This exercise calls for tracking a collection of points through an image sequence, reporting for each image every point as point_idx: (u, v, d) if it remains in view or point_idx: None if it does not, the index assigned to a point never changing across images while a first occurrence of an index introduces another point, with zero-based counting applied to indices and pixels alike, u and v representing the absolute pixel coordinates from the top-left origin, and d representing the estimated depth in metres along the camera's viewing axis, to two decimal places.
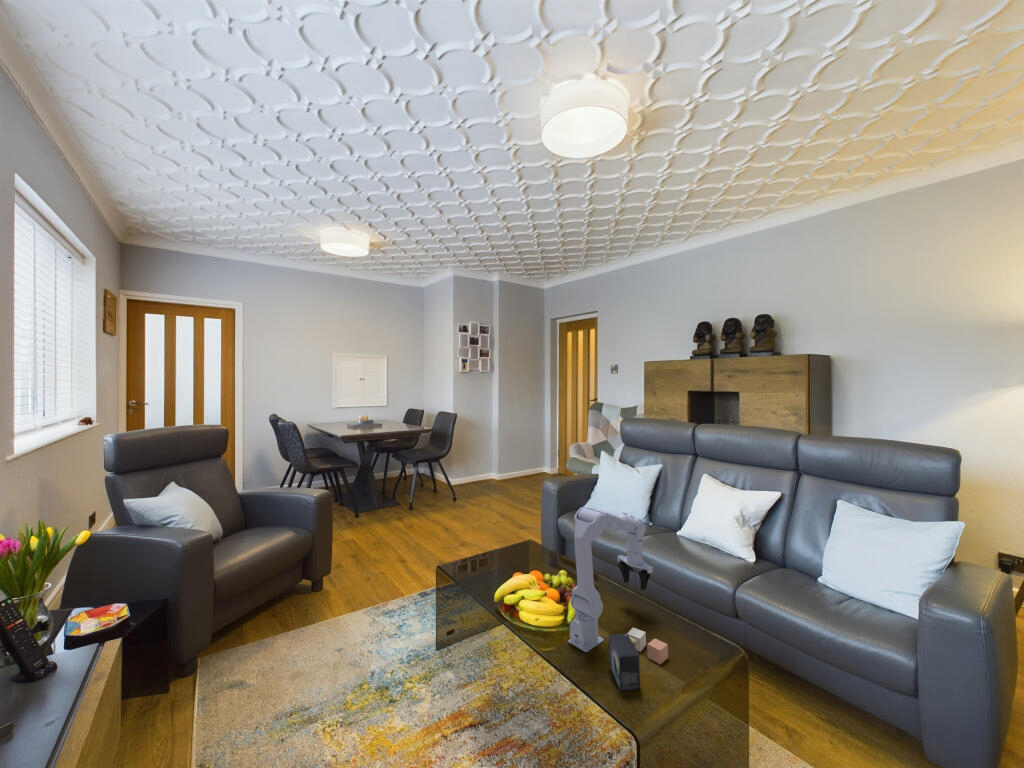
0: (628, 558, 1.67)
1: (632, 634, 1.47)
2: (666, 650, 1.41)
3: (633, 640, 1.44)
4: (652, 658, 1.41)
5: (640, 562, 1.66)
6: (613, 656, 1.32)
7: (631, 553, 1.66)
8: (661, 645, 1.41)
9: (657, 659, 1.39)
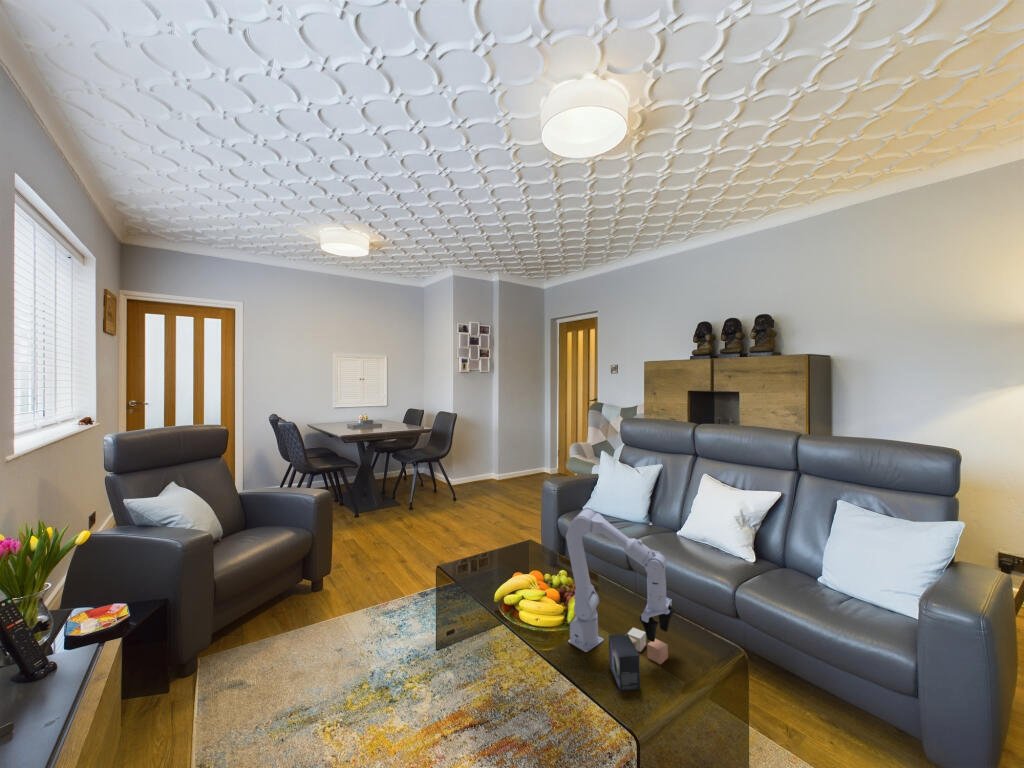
0: None
1: (632, 634, 1.47)
2: (666, 650, 1.41)
3: (633, 640, 1.44)
4: (652, 658, 1.41)
5: (651, 607, 1.40)
6: (613, 656, 1.32)
7: None
8: (661, 645, 1.41)
9: (657, 659, 1.39)
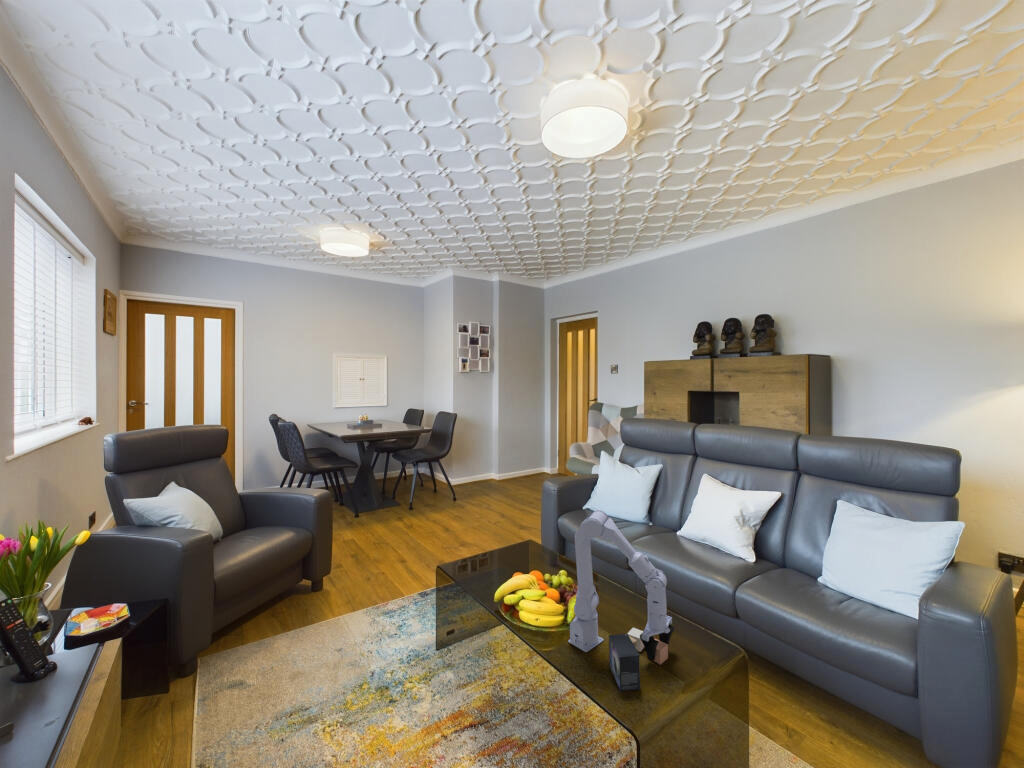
0: None
1: (632, 634, 1.47)
2: (666, 650, 1.41)
3: (633, 640, 1.44)
4: None
5: (651, 626, 1.40)
6: (613, 656, 1.32)
7: None
8: (661, 645, 1.41)
9: (657, 659, 1.39)
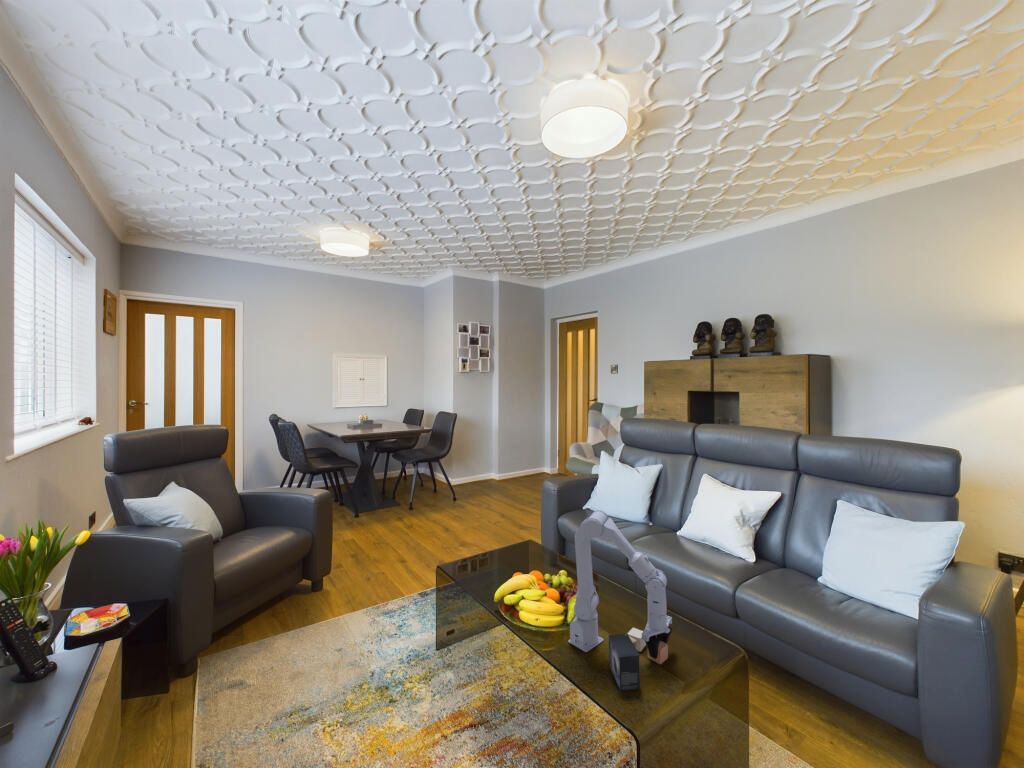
0: None
1: (632, 634, 1.47)
2: (666, 650, 1.41)
3: (633, 640, 1.44)
4: (652, 658, 1.41)
5: (651, 626, 1.40)
6: (613, 656, 1.32)
7: None
8: (661, 645, 1.41)
9: (657, 659, 1.39)
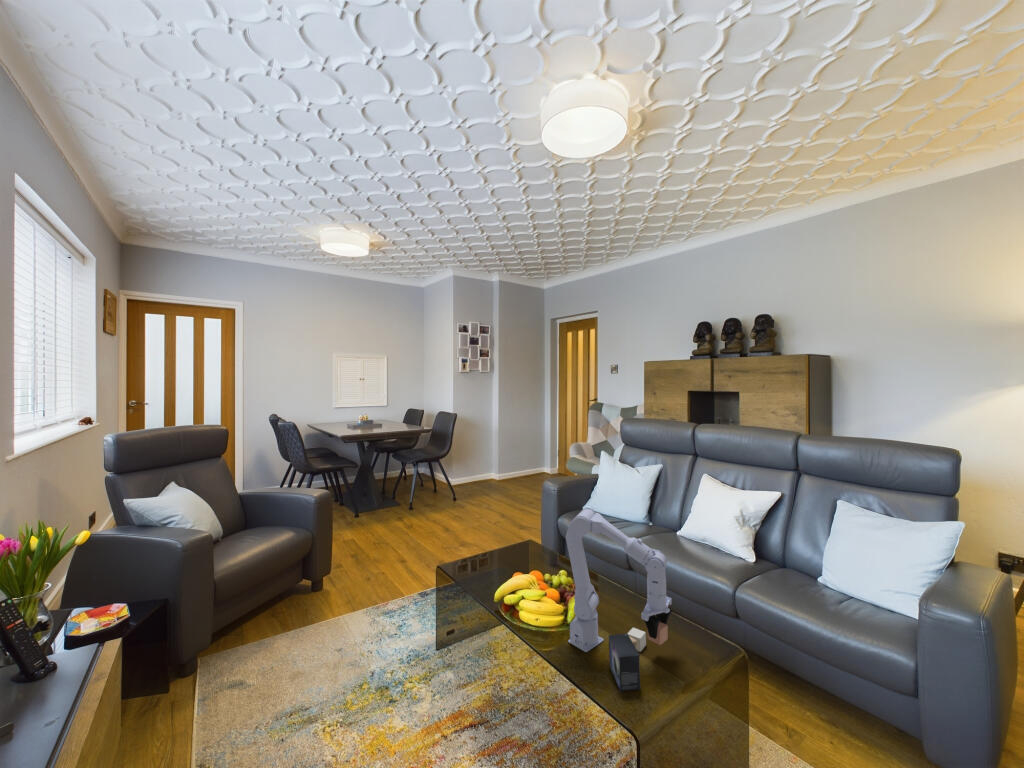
0: None
1: (632, 634, 1.47)
2: (666, 631, 1.41)
3: (633, 640, 1.44)
4: (652, 639, 1.41)
5: (651, 606, 1.40)
6: (613, 656, 1.32)
7: None
8: (661, 626, 1.41)
9: (657, 639, 1.39)
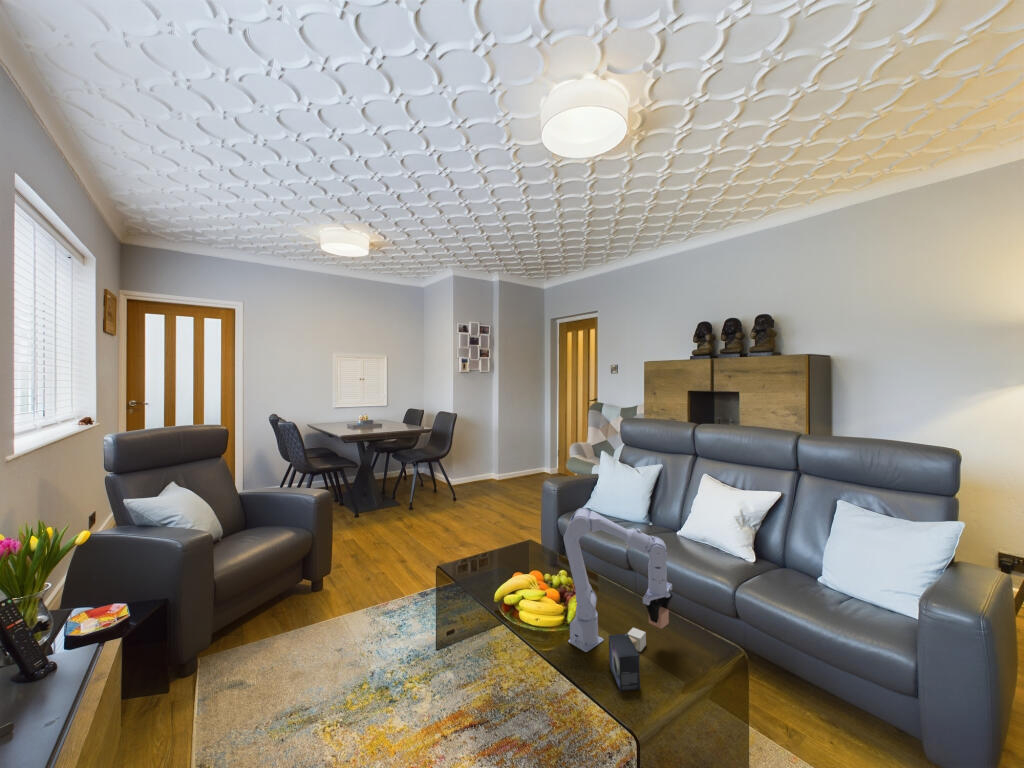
0: None
1: (632, 634, 1.47)
2: (667, 615, 1.45)
3: (633, 640, 1.44)
4: (653, 623, 1.45)
5: (652, 591, 1.44)
6: (613, 656, 1.32)
7: None
8: (662, 611, 1.45)
9: (658, 623, 1.43)
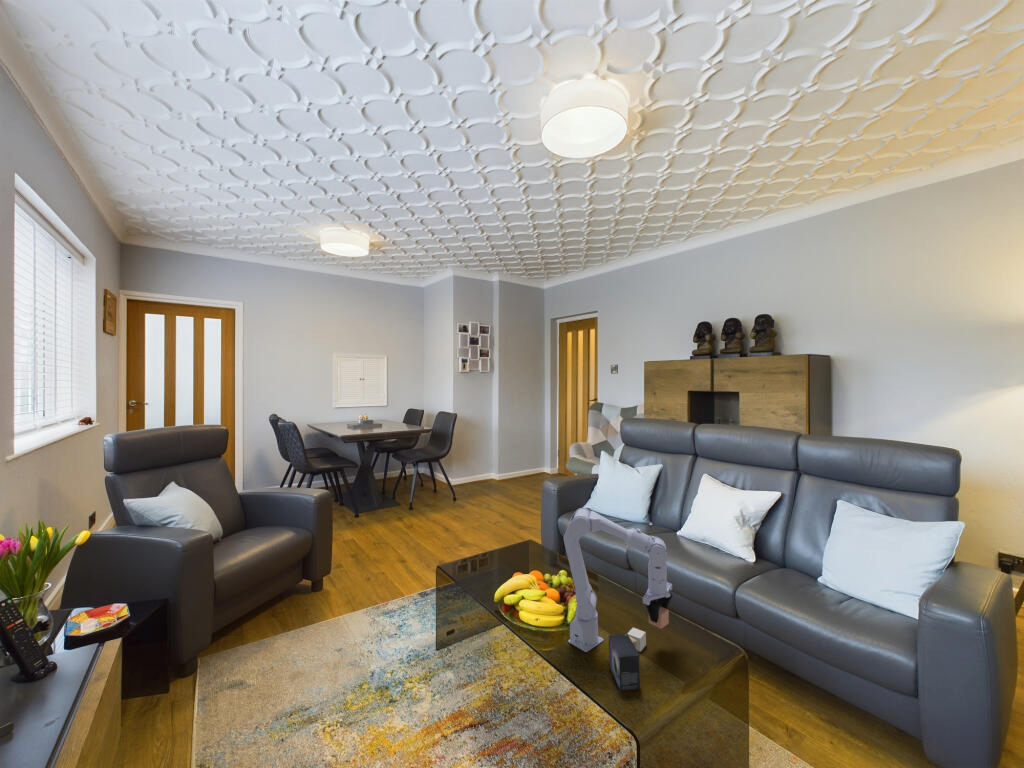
0: None
1: (632, 634, 1.47)
2: (667, 615, 1.45)
3: (633, 640, 1.44)
4: (653, 623, 1.45)
5: (652, 591, 1.44)
6: (613, 656, 1.32)
7: None
8: (662, 611, 1.45)
9: (658, 623, 1.43)
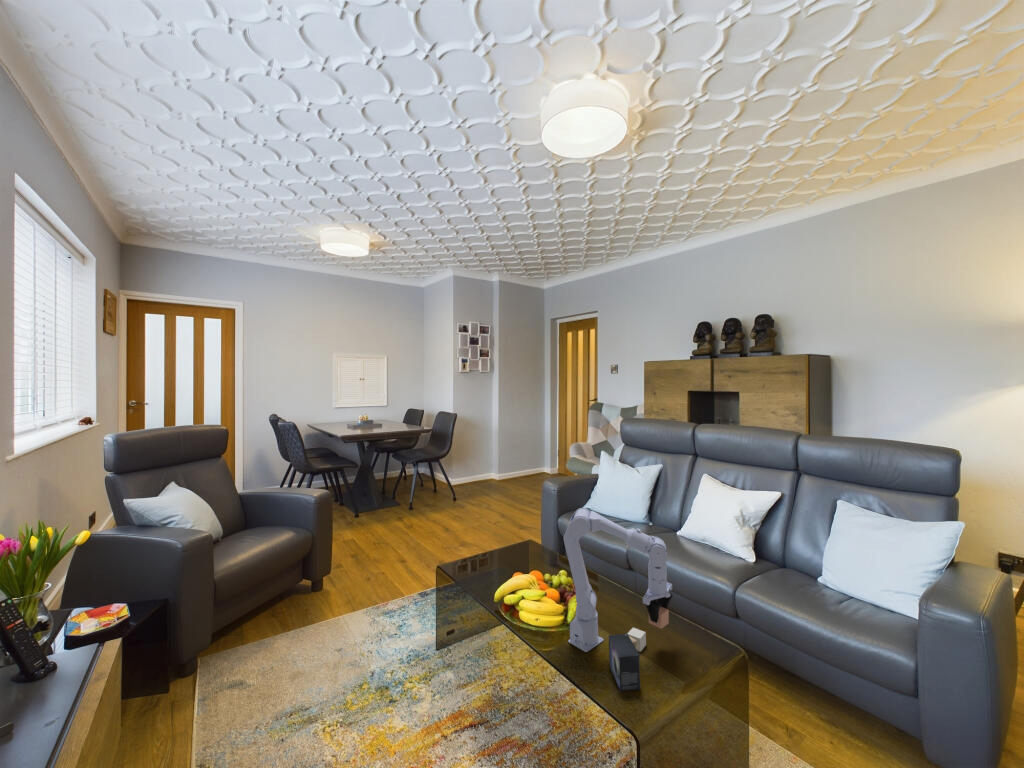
0: None
1: (632, 634, 1.47)
2: (667, 615, 1.45)
3: (633, 640, 1.44)
4: (653, 623, 1.45)
5: (652, 591, 1.44)
6: (613, 656, 1.32)
7: None
8: (662, 611, 1.45)
9: (658, 623, 1.43)
